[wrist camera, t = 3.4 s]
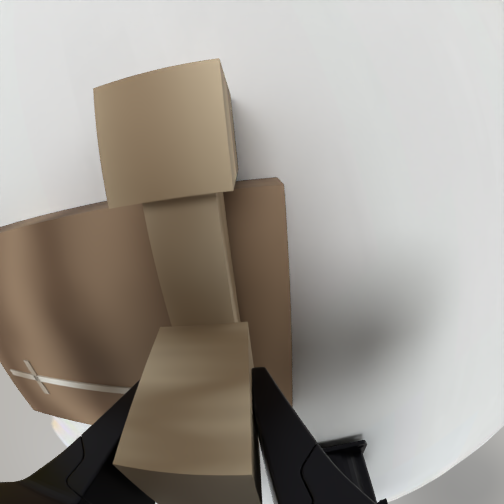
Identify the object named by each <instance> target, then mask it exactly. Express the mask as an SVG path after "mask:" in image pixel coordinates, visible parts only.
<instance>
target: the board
mask: <svg viewBox="0 0 504 504" xmlns="http://www.w3.org/2000/svg"><path fill="white" fill-rule="evenodd" d="M223 196H224V204H225V212H226V219H227V227H228V235H229V243H230V250H231V257H232V265H233V272H234V279H235V286H236V293H237V300H238V307H239V314H240V321H241V322H248V327H249V335H250V342H251V350H252V357H253V365H254V367H265V368H266V369H267V371H268V372H269V374H270V375H271V377H272V378H273V380H274V381H275V383H276V384H277V386H278V387H279V389H280V390H281V392H282V393H283V395H284V396H285V397H286V399H287V400H288V402H289V403H290V405H291V406H292V335H291V303H290V279H289V258H288V240H287V223H286V208H285V194H284V184H283V183H282V182H281V181H280V180H279V179H278V178H277V177H275V178H264V179H253V180H243V181H235V185H234V190H233V191H227V192H223ZM160 327H172V325H171V322H170V318H169V315H168V311H167V308H166V304H165V301H164V297H163V293H162V289H161V286H160V282H159V278H158V274H157V270H156V266H155V262H154V257H153V253H152V249H151V244H150V240H149V235H148V230H147V225H146V220H145V215H144V210H143V205H142V203H140V204H134V205H129V206H123V207H117V208H112V209H109V206H108V201H104V202H99V203H94V204H90V205H85V206H80V207H76V208H72V209H67V210H63V211H59V212H55V213H50V214H46V215H42V216H39V217H35V218H31V219H27V220H23V221H20V222H16V223H13V224H9V225H6V226H2V227H0V362H1V364H2V365H3V367H4V369H5V370H6V372H7V373H8V375H9V376H10V378H11V379H12V381H13V382H14V384H15V385H16V387H17V388H18V390H19V391H20V392H21V394H22V395H23V396H24V398H25V399H26V400H27V402H28V403H29V404H30V405H31V407H32V408H33V409H34V410H35V411H39V412H42V413H45V414H49V415H52V416H56V417H60V418H64V419H68V420H72V421H76V422H81V423H86V424H91V425H93V424H94V423H95V422H96V421H97V420H98V419H99V418H100V417H101V416H102V415H103V414H104V413H105V412H106V411H107V410H108V409H109V408H110V407H112V406H113V405H114V404H115V403H116V402H117V401H118V400H119V399H120V398H121V397H122V396H123V395H124V394H125V393H126V392H127V391H128V390H129V389H130V388H131V387H132V386H133V385H135V384H136V383H137V382H138V381H139V380H140V379H141V376H142V374H143V371H144V368H145V365H146V363H147V360H148V357H149V355H150V352H151V350H152V347H153V344H154V342H155V339H156V337H157V334H158V331H159V329H160Z"/></svg>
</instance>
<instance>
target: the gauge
mask: <svg viewBox="0 0 504 504" xmlns="http://www.w3.org/2000/svg"><path fill="white" fill-rule="evenodd" d="M93 91H94V107H95V119H96V129H97V138H98V146H99V154H100V161H101V167H102V174H103V180H104V185H105V191H106V196H107V201H108V206H109V209H112V208H117V207H123V206H129V205H134V204H140V203H142V205H143V210H144V215H145V220H146V225H147V230H148V235H149V240H150V244H151V249H152V253H153V257H154V262H155V266H156V270H157V274H158V278H159V282H160V286H161V289H162V293H163V297H164V301H165V304H166V308H167V311H168V315H169V318H170V322H171V325H172V327H160V329H159V331H158V334H157V337H156V339H155V342H154V344H153V347H152V350H151V352H150V355H149V357H148V360H147V363H146V365H145V368H144V371H143V374H142V376H141V379H140V382H139V385H138V388H137V390H136V393H135V396H134V399H133V402H132V405H131V408H130V411H129V414H128V417H127V420H126V423H125V426H124V429H123V432H122V435H121V438H120V441H119V445H118V448H117V451H116V454H115V458H114V461H113V465H114V466H115V467H116V468H117V469H118V470H119V471H120V472H121V473H123V474H124V475H125V476H126V477H127V478H128V479H129V480H130V481H131V482H132V483H134V484H135V485H136V486H137V487H138V488H139V489H140V490H142V491H143V492H144V493H145V494H146V495H148V496H149V497H150V498H151V499H153V500H154V501H155V502H156V503H158V504H262V490H261V471H260V452H259V438H258V432H257V426H256V421H255V415H254V409H253V403H252V368H254V365H253V357H252V350H251V342H250V335H249V327H248V322H241V321H240V314H239V307H238V300H237V293H236V286H235V279H234V272H233V265H232V257H231V250H230V243H229V235H228V227H227V219H226V212H225V204H224V196H223V192H227V191H233V190H234V185H235V181H236V177H237V172H238V163H237V153H236V144H235V135H234V125H233V116H232V106H231V97H230V92H229V89H228V85H227V82H226V79H225V76H224V72H223V69H222V66H221V63H220V59H219V58H218V59H211V60H204V61H198V62H192V63H186V64H181V65H176V66H171V67H167V68H162V69H158V70H154V71H150V72H146V73H142V74H138V75H134V76H131V77H127V78H124V79H121V80H118V81H114V82H111V83H108V84H105V85H102V86H99V87H96V88H94V89H93Z"/></svg>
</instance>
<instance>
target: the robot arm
mask: <svg viewBox="0 0 504 504" xmlns="http://www.w3.org/2000/svg"><path fill="white" fill-rule="evenodd" d="M139 382H140V380H139V381H138V382H137V383H136V384H135V385H133V386H132V387H131V388H130V389H129V390H128V391H127V392H126V393H125V394H124V395H123V396H122V397H121V398H120V399H119V400H118V401H117V402H116V403H115V404H114V405H113V406H112V407H110V408H109V409H108V410H107V411H106V412H105V413H104V414H103V415H102V416H101V417H100V418H99V419H98V420H97V421H96V422H95V423H94V424H93V425H92V426H90V427H89V428H88V429H87V430H86V431H85V432H84V433H83V434H82V437H81V436H80V437H79V438H78V439H77V440H75V441H74V442H73V443H72V444H71V445H70V446H69V447H68V448H67V449H66V450H64V451H63V452H62V453H61V454H59V455H58V456H57V457H55V458H54V459H53V460H52V461H50V462H49V463H47V464H46V465H45V466H43V467H42V468H40V469H39V470H38V471H36V472H35V473H33V474H32V475H31V476H29V477H27V478H25V479H23V480H20V481H16V482H0V504H155V501H154V500H153V499H151V498H150V497H149V496H148V495H146V494H145V493H144V492H143V491H142V490H140V489H139V488H138V487H137V486H136V485H135V484H134V483H132V482H131V481H130V480H129V479H128V478H127V477H126V476H125V475H124V474H123V473H121V472H120V471H119V470H118V469H117V468H116V467H115V466H114V465H113V461H114V458H115V454H116V451H117V448H118V445H119V441H120V438H121V435H122V432H123V429H124V426H125V423H126V420H127V417H128V414H129V411H130V408H131V405H132V402H133V399H134V396H135V393H136V390H137V388H138V385H139ZM252 403H253V409H254V415H255V421H256V426H257V432H258V438H259V442H260V447H261V451H262V456H263V460H264V464H265V469H266V473H267V477H268V481H269V486H270V490H271V494H272V498H273V502H274V504H388V503H387V500H386V499H383V500H380V501H379V502H378V503H377V501H376V497H375V494H374V490H373V487H372V483H371V480H370V477H369V473H368V470H367V467H366V463H365V460H364V457H363V452H364V450H365V448H366V446H367V444H366V441H365V440H360V441H356V442H352V443H348V444H343V445H338V446H333V447H328V448H323V449H322V448H321V447H320V445H319V444H317V442H316V440H315V439H314V437H313V436H312V435H311V433H310V432H309V430H308V429H307V428H306V426H305V425H304V423H303V422H302V421H301V419H300V418H299V416H298V415H297V413H296V412H295V411H294V409H293V408H292V406H291V405H290V403H289V402H288V400H287V399H286V397H285V396H284V395H283V393H282V392H281V390H280V389H279V387H278V386H277V384H276V383H275V381H274V380H273V378H272V377H271V375H270V374H269V372H268V371H267V369H266V368H265V367H254V368H252Z"/></svg>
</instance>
